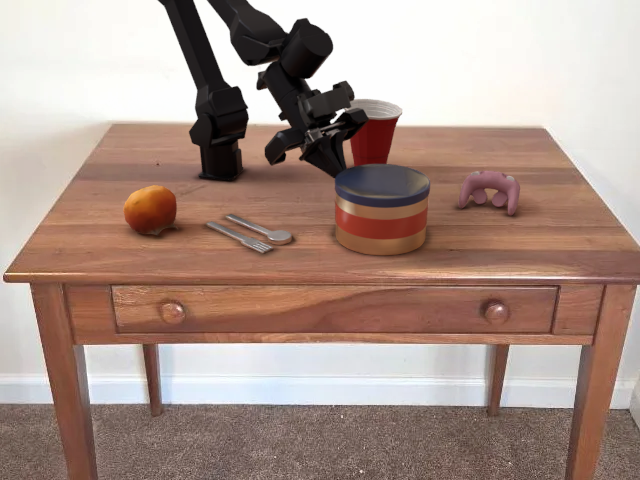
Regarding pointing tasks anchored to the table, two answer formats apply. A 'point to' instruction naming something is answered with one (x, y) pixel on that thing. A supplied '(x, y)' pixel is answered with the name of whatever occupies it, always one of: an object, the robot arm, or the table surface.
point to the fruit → (151, 210)
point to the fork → (241, 238)
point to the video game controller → (490, 180)
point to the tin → (381, 208)
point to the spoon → (263, 231)
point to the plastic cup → (374, 131)
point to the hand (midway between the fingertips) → (346, 181)
